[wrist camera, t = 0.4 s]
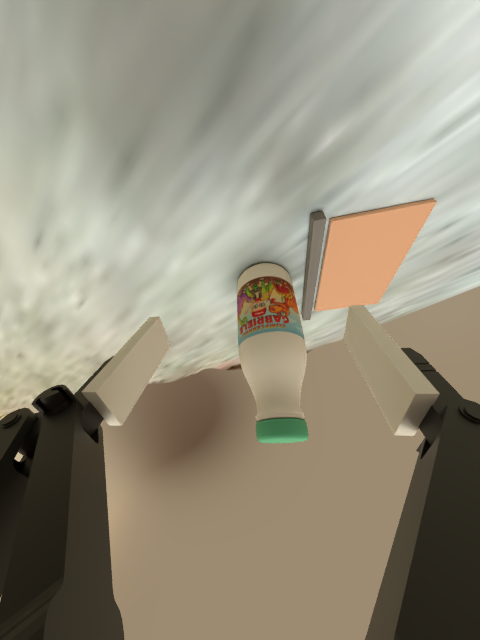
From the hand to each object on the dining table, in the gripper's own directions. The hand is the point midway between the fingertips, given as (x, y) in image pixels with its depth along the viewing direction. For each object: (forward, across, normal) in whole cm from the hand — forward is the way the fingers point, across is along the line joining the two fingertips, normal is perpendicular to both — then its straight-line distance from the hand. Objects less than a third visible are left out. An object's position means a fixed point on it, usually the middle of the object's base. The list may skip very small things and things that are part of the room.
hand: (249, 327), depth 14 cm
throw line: (+16, +7, -3) cm, 18 cm away
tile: (+17, +14, -2) cm, 22 cm away
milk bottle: (+16, +1, -3) cm, 17 cm away
